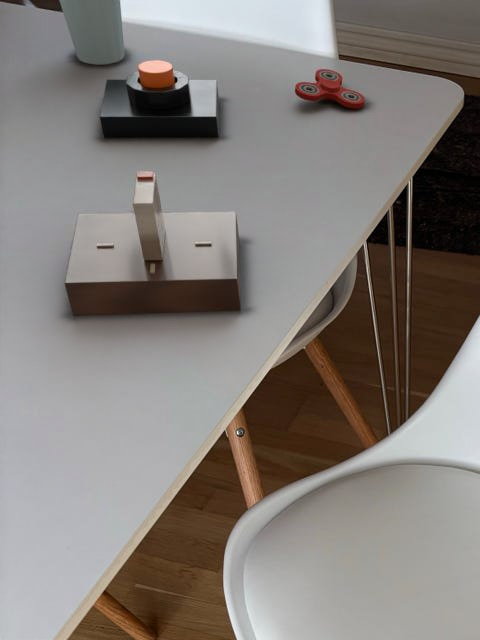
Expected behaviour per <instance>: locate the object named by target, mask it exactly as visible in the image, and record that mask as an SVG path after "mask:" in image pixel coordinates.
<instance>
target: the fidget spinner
mask: <svg viewBox="0 0 480 640" xmlns="http://www.w3.org/2000/svg"><path fill="white" fill-rule="evenodd" d="M314 75H315V76H314V79H315V81H316V82H308V81H301V82H297V83H296V84H295V86H294V94H295V95H296V96H297V97H299V98H300V99H302V100H304V101H308V102H318V101H321V100H324V99H325V100H331V101H332V100H334V101H336V102H337V103H338V104H340V105H341V106H343V107H346V108H348V109H353V110H356V109H362V108H364V106H365V100H366V99H365V96H364V95H363V94H361V93H360V92H358V91H355V90H352V89H348V88H345V87H343V86H342V85H343V76H342V74H340V73H339V72H337V71H335V70H333V69H328V68H320V69H317V70H316V71H315V74H314Z"/></svg>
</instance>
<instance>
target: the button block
mask: <svg viewBox="0 0 480 640" xmlns="http://www.w3.org/2000/svg"><path fill="white" fill-rule="evenodd" d="M173 73H174V79H175V84H174V85H172V86H169V87H164V88H150V87H146V86H142V85H141V82H140V77H139V71H138V70H137V71H135V72H133V73H131V74H130V75H128V76H127V77H126V79H106V81H105V86H104V92H103V97H102V103H101V107H100V108H101V109H100V113H99V120H100V125H101V129H102V134H103V138H104V139H151V138H152V139H153V138H154V139H160V138H161V139H165V138H166V139H168V138H169V139H171V138H172V139H179V138H180V139H183V138H184V139H185V138H189V139H191V138H192V139H194V138H195V139H196V138H197V139H198V138H200V139H201V138H202V139H203V138H205V139H206V138H219V137H220V97H219V89H218V80H217V79H190V78H189V77H188V76H187V75H186V74H184V73H183V72H181V71H179V70H174V69H173Z"/></svg>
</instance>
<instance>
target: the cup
mask: <svg viewBox="0 0 480 640" xmlns="http://www.w3.org/2000/svg"><path fill="white" fill-rule="evenodd" d="M58 1H59V4H60V6H61V10H62V13H63V16H64V20H65V23H66V25H67V29H68V32H69V35H70V38H71V41H72V45H73V47H74V52H75V53H76V57H77V59H78V61H81V62H83V63H84V64H87V65H88V64H89V65H96V66H102V65H111V64H115V63H118V62H121V61H122V60H123V59H124V58H125V41H124V30H123V19H122V17H123V16H122V6H121V0H58Z"/></svg>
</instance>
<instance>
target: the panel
mask: <svg viewBox="0 0 480 640" xmlns="http://www.w3.org/2000/svg"><path fill="white" fill-rule="evenodd" d="M162 213H163V219H164V225H165V238H164V251H163V260H144V259H143V254H142V249H141V244H140V239H139V234H138V229H137V223H136V218H135V213H134V212H125V213H124V212H123V213H122V212H121V213H119V212H118V213H115V212H113V213H78V214H77V216H76V223H75V227H74V232H73V236H72V242H71V247H70V252H69V258H68V264H67V268H66V274H65V279H64V287H65V290H66V291H65V292H66V294H67V299H68V302H69V306H70V310H71V313H72V316H96V315H97V316H98V315H132V314H161V313H162V314H163V313H192V312H193V313H197V312H231V311H233V312H235V311H241V310H242V296H241V295H242V294H241V293H242V291H241V247H240V245H241V243H240V242H241V241H240V233H239V224H238V215H237V212H236V211H195V212H194V211H193V212H192V211H189V212H162Z"/></svg>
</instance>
